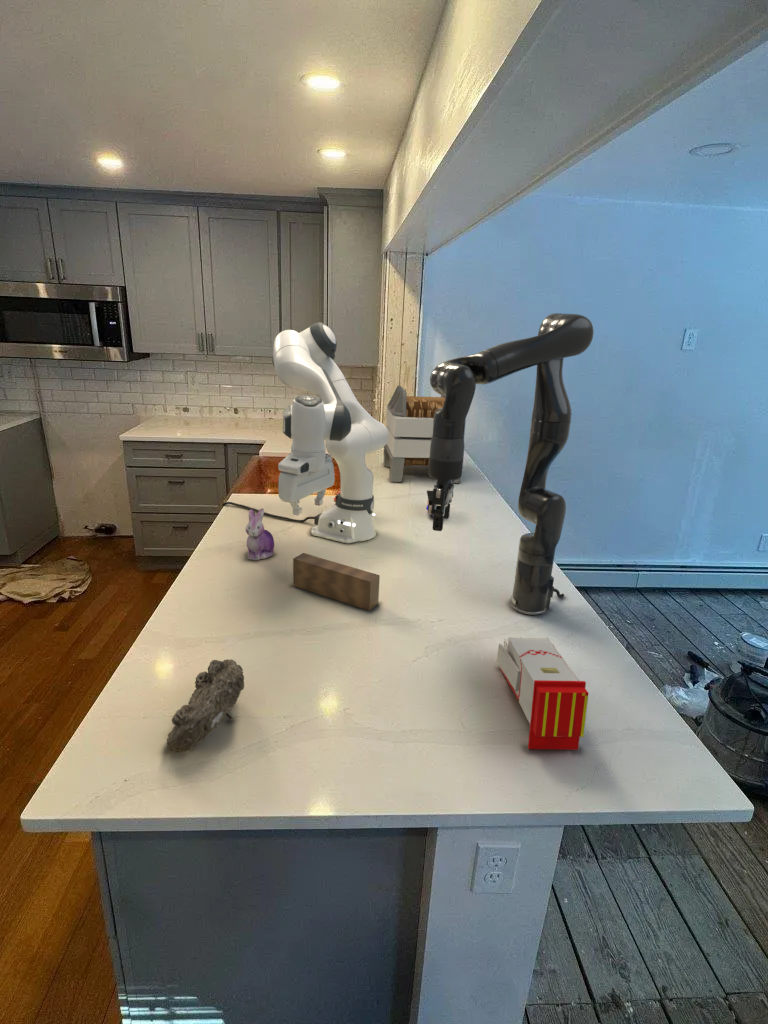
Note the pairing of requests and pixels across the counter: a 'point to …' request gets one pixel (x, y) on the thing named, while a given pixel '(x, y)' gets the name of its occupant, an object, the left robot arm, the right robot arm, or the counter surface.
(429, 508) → the figurine character
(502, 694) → the counter surface
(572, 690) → the toy
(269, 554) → the figurine
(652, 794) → the counter surface
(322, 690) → the counter surface
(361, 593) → the bar
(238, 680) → the fossil
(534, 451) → the right robot arm
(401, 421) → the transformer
